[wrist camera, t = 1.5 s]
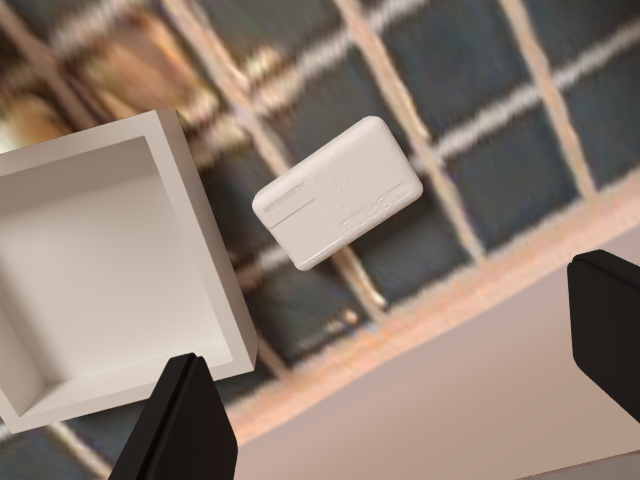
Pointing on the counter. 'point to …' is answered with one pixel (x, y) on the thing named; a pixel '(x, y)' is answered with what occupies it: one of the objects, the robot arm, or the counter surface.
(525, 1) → the counter surface
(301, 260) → the soap
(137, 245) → the box
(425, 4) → the counter surface
